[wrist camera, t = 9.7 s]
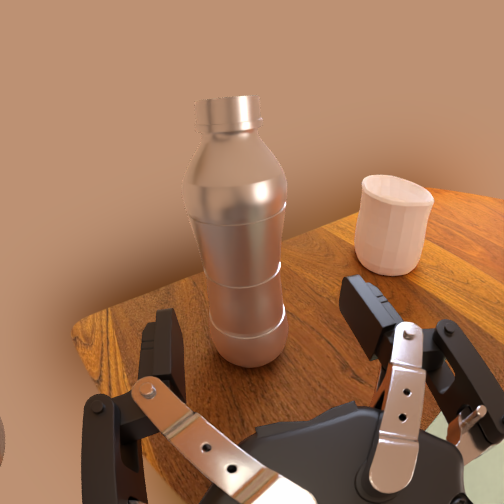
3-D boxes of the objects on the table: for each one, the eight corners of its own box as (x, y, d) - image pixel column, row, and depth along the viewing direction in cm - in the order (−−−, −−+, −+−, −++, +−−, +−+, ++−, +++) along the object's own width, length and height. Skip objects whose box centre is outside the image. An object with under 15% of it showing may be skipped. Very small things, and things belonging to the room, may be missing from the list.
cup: (384, 288, 30) (401, 209, 24) (336, 247, 38) (341, 178, 32) (431, 265, 32) (448, 197, 27) (384, 232, 40) (392, 172, 35)
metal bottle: (238, 390, 21) (194, 101, 10) (202, 338, 26) (155, 107, 15) (302, 354, 23) (313, 94, 13) (259, 311, 28) (245, 95, 18)
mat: (457, 569, 3) (461, 568, 3) (363, 491, 12) (365, 490, 12) (540, 436, 9) (543, 434, 9) (466, 376, 18) (468, 373, 18)
